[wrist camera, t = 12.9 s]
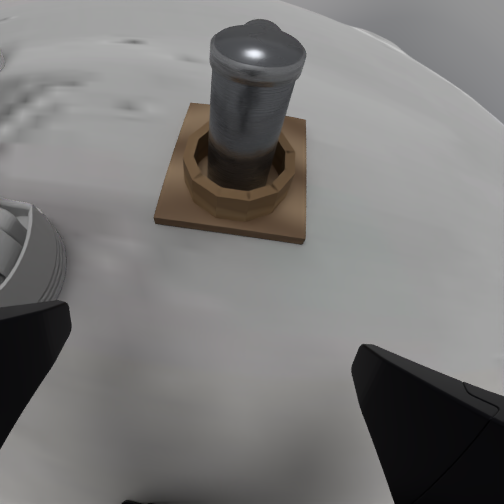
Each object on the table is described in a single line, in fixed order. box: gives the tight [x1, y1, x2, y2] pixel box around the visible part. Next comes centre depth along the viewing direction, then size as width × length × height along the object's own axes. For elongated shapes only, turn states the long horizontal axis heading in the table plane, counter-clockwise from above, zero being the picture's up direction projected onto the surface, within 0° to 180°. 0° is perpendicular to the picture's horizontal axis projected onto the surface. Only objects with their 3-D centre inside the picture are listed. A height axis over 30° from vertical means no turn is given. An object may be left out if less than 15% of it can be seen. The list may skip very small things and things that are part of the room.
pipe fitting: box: [207, 19, 306, 191], centre depth 21 cm, size 8×5×13 cm
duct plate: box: [154, 103, 306, 244], centre depth 27 cm, size 14×12×4 cm
